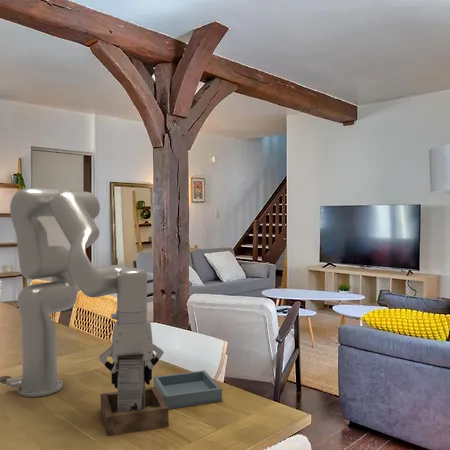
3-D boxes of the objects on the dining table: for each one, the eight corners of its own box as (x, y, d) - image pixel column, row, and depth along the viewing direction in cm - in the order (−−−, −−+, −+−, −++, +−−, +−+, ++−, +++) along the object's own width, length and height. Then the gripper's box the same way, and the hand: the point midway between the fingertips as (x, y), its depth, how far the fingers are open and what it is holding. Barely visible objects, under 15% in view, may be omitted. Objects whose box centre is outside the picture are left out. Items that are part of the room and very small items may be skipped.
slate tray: (165, 409, 127) (165, 396, 127) (153, 388, 142) (153, 376, 142) (221, 401, 132) (221, 388, 132) (204, 381, 147) (204, 370, 147)
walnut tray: (106, 435, 112) (106, 417, 112) (100, 410, 126) (100, 393, 126) (168, 425, 117) (168, 407, 117) (156, 402, 131) (156, 386, 131)
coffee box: (121, 405, 126) (121, 345, 126) (145, 404, 127) (145, 345, 126) (116, 420, 117) (116, 356, 117) (142, 420, 118) (142, 356, 117)
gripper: (98, 322, 115) (98, 394, 115) (168, 317, 120) (168, 386, 121) (95, 315, 122) (95, 383, 122) (162, 311, 128) (161, 375, 128)
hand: (131, 384), depth 122 cm, fingers closed on coffee box, 7 cm apart
